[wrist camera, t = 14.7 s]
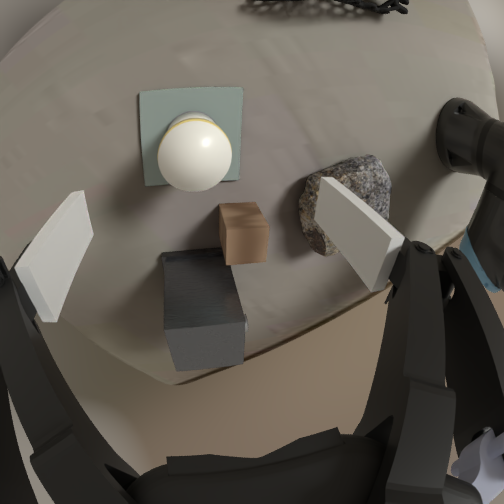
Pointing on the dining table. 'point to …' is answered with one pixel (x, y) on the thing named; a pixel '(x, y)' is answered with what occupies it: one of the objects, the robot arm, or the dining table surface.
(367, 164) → the rock
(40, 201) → the dining table surface
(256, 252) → the walnut block
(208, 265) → the box
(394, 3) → the decorative element
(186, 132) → the cartridge
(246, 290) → the dining table surface
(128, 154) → the dining table surface
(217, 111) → the mat
